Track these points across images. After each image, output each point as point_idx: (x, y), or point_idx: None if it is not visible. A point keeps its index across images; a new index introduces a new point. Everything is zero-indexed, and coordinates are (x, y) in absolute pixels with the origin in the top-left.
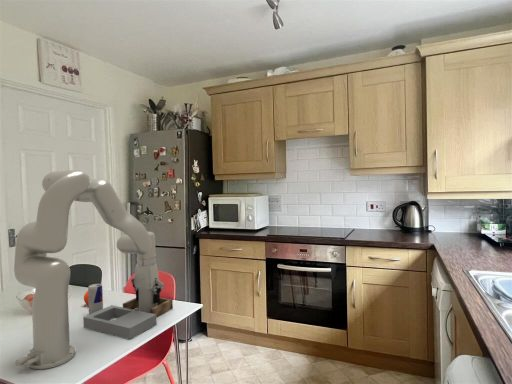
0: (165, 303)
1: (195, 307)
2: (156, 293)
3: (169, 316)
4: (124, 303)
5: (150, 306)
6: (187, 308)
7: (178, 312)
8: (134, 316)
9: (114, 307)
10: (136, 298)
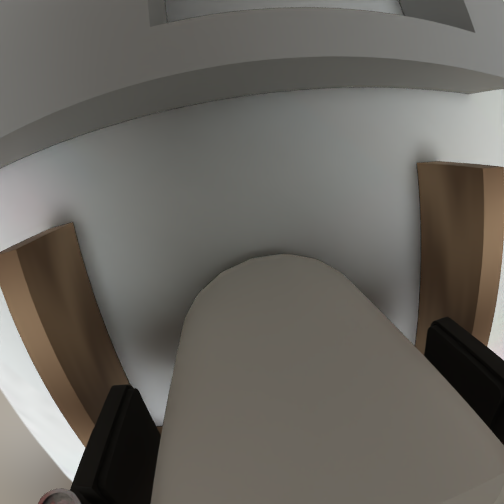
0: (82, 437)
1: (68, 477)
2: (40, 501)
3: (22, 341)
4: (492, 176)
5: (181, 346)
6: (79, 463)
7: (51, 411)
8: (7, 4)
9: (473, 36)
10: (453, 329)
